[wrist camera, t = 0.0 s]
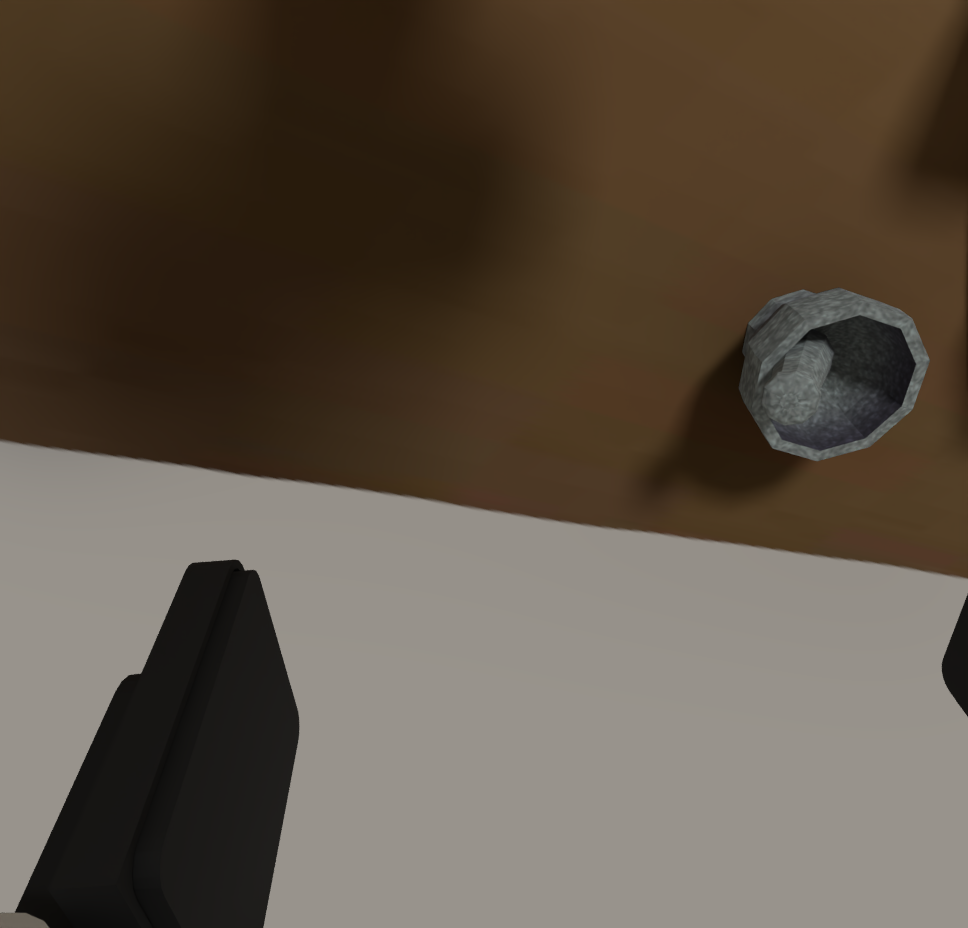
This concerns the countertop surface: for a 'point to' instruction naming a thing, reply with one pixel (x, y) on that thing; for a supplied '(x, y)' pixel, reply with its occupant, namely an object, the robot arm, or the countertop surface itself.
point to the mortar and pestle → (830, 371)
